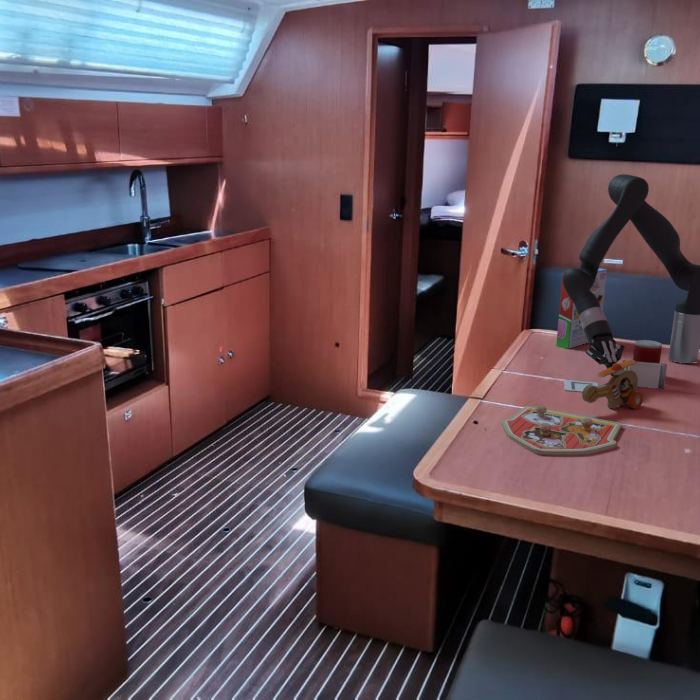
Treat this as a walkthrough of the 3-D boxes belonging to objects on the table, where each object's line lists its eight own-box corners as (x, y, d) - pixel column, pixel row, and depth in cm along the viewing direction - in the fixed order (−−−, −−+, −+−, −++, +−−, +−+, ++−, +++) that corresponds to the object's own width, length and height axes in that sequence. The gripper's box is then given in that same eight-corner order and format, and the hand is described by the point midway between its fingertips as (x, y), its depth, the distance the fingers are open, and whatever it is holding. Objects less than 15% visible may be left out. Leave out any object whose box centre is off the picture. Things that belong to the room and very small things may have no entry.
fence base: (619, 383, 228) (622, 360, 226) (663, 387, 225) (666, 363, 223) (620, 385, 226) (622, 361, 224) (664, 389, 223) (667, 365, 221)
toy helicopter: (645, 407, 208) (651, 360, 204) (594, 420, 197) (600, 371, 194) (621, 398, 214) (626, 353, 211) (571, 410, 204) (576, 363, 200)
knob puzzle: (627, 429, 193) (629, 413, 191) (602, 471, 168) (604, 452, 167) (518, 408, 207) (519, 393, 205) (481, 444, 182) (482, 427, 181)
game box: (587, 337, 282) (595, 267, 275) (600, 340, 278) (608, 269, 271) (555, 346, 269) (562, 272, 262) (568, 349, 265) (575, 274, 258)
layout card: (564, 380, 230) (564, 379, 230) (597, 383, 228) (597, 382, 228) (564, 390, 221) (564, 389, 221) (599, 393, 218) (599, 392, 218)
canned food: (661, 380, 232) (666, 346, 229) (636, 379, 232) (640, 345, 229) (652, 372, 240) (656, 340, 237) (627, 372, 240) (631, 339, 237)
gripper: (583, 320, 222) (603, 371, 214) (619, 317, 226) (641, 367, 218) (570, 332, 228) (590, 382, 221) (606, 330, 232) (627, 379, 225)
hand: (615, 375), depth 219 cm, fingers closed
